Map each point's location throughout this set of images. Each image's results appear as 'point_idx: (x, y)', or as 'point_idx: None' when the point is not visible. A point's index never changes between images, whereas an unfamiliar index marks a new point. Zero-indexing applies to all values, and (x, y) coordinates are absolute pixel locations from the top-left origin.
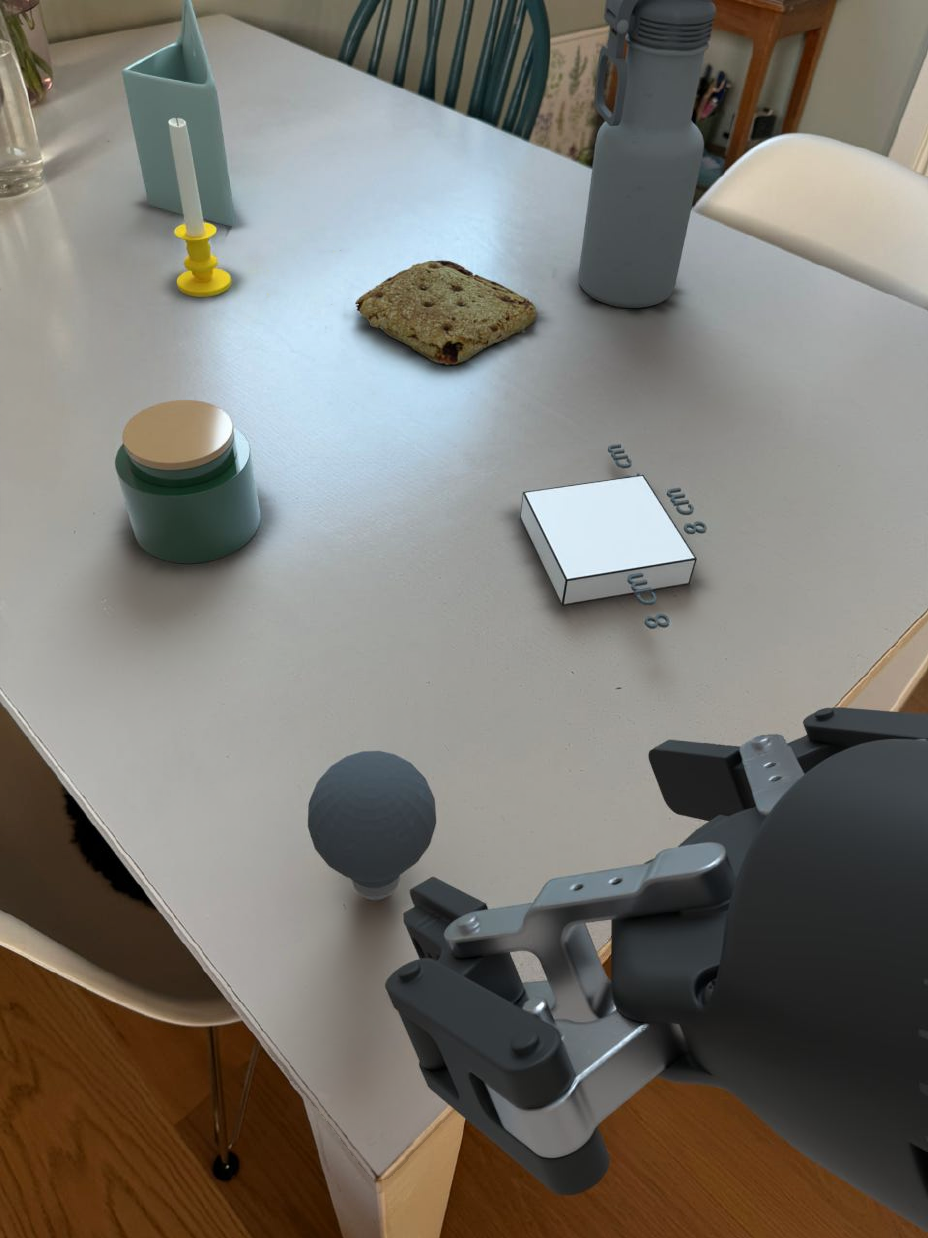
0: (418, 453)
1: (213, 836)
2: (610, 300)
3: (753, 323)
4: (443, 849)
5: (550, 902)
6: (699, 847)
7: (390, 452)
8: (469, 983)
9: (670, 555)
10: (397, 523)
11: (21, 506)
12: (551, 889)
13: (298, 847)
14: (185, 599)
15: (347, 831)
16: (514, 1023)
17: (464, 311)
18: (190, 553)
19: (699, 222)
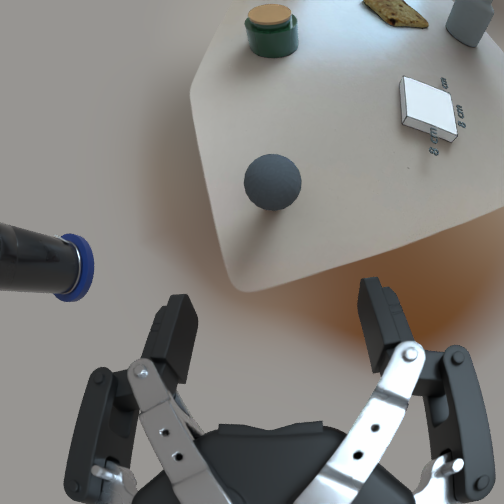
0: (368, 46)
1: (228, 159)
2: (455, 36)
3: (498, 72)
4: (308, 199)
5: (147, 426)
6: (223, 500)
7: (357, 42)
8: (98, 421)
9: (449, 128)
10: (349, 65)
11: (219, 31)
12: (160, 413)
13: None
14: (257, 69)
15: (253, 188)
16: (83, 470)
17: (401, 12)
18: (264, 53)
19: (487, 35)
